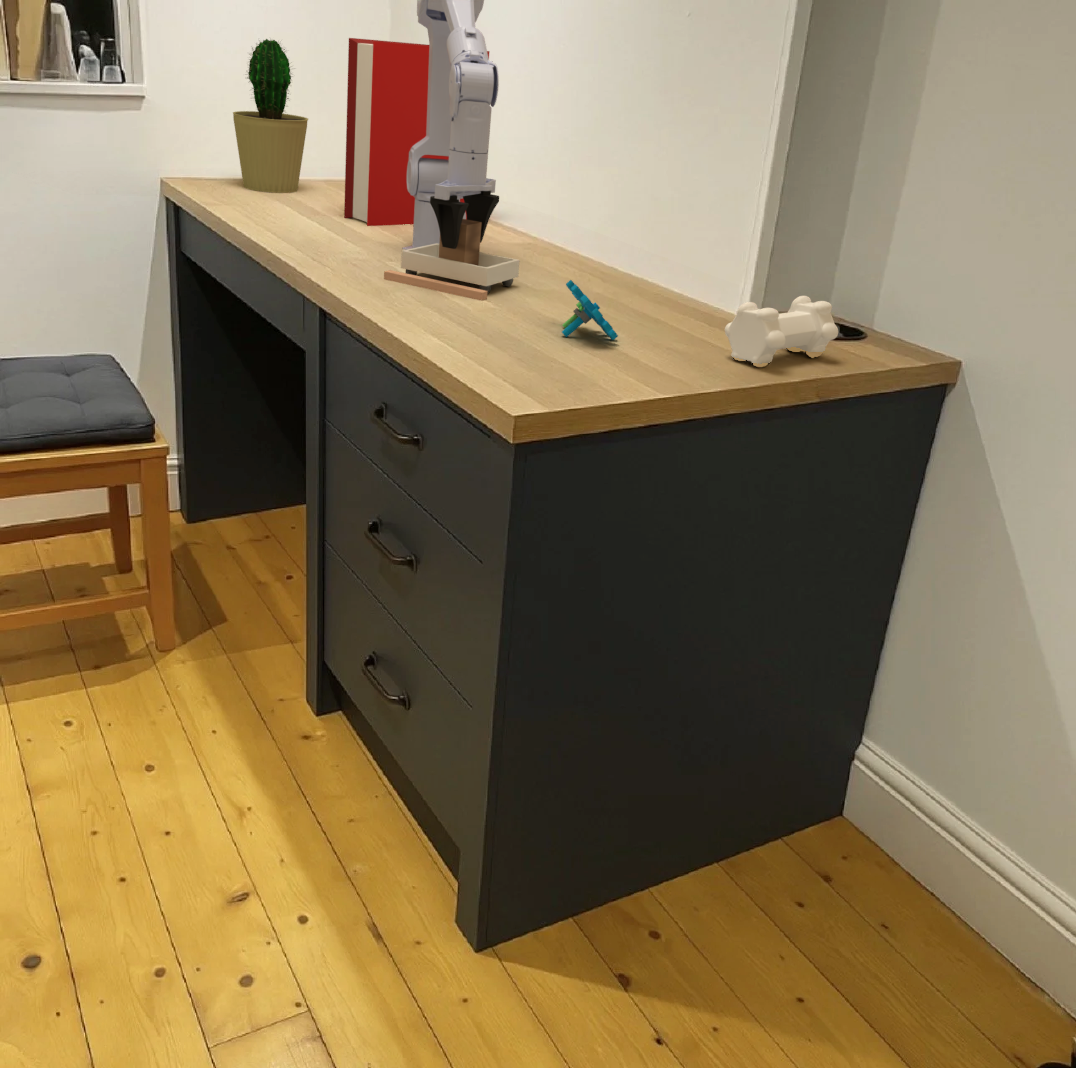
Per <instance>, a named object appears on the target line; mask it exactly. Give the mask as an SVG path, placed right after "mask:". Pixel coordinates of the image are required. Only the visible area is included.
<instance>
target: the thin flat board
mask: <svg viewBox="0 0 1076 1068" xmlns="http://www.w3.org/2000/svg"><path fill="white" fill-rule="evenodd" d="M383 280H387V281H391V282H396V283H400V284H405V285H410V286H413V287H419V288H422V289H427V290H431V291H435V292H436V291H437V292H441V293H446V294H451V295H456V296H459V297H462V298H463V297H464V298H469V299H473V300H477V301H484V300H487V299H488V294H487V292H488V291H485V290H480V289H479V288H475V287H470V286H466V285H460V284H456V283H451V282H447V281H442V280H438V279H433V278H429V277H424V276H420V275H419V276H418V275H411V274H406V272H402V271H397V270H391V269H389V270H385V271H384V272H383Z"/></svg>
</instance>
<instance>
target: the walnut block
mask: <svg viewBox="0 0 1076 1068" xmlns="http://www.w3.org/2000/svg"><path fill="white" fill-rule="evenodd" d="M481 224H482V222H477V221H472V220H467V219H462V223H461V227H460V234H459V240H458V244H457V247H456V249H451V248H446V247H443V246H442V242H441V236H440V242H439V258H444V259H448V260H453V261H458V262H463V263H468V264H473V265H477V266H478V263H479V252H480V248H481V246H480V245H481V243H480V237H481Z"/></svg>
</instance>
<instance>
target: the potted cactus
mask: <svg viewBox="0 0 1076 1068" xmlns="http://www.w3.org/2000/svg"><path fill="white" fill-rule="evenodd" d="M269 38H270V40H269V39H268V38H265V39H263V40H261V39H260V40H259V39H258V42H259V43H258V42H256V43H255V42H254V43H255V47H254V46H251V51H252V52H249V53H248V55H250V56H251V57H250V56H249V57H247V58H248V60H249V61H247V63H249V64H248V71H247V73H246V74H244V75H246V76H247V75H248V77H246V80H247V79H248V80H249V82H250V84H251V85H252V88H251V89H250V91H252V92H251V93H253V94H250V95H251V96H252V95H253V99H254V104H255V105H256V110H257V111H256V110H255V111H253V110H247V111H245V110H239V111H233V112H232V115H233V117H232V118H233V124H234V130H235V131H234V132H235V137H236V144H237V151H238V157H239V164H240V171H241V179H242V184H243V187H244V188H245V189H247V190H251V191H255V192H263V193H272V194H273V193H275V194H288V193H289V194H290V193H295V192H298V190H299V182H300V175H301V168H302V163H303V156H304V149H305V141H306V136H307V129H308V122H309V118H308V117H305V116H301V115H296V114H295V115H294V114H289V113H286V112H285V107H288V104H287V100H288V101H289V102H291V100H292V99H291V98H290V99H289V97H288V95H290V93H291V92H290V90H289V86H290V87H291V83H292V78H294V75H293V72H291V68H292V67H293V65H292V66H290V64H291V63H293V61H292V62H290V60H289V57H287V55H286V53H287V52H288V51H290V50H287V49H286V48H285V46H284V45H283V44H282V43H281V41H282V40H283V39H281V41H276V40H275V39H273V38H271V37H269ZM282 45H283V46H282ZM295 69H296V68H293V70H295ZM291 75H293V76H291ZM249 99H252V97H250V98H249Z"/></svg>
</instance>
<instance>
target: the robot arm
mask: <svg viewBox="0 0 1076 1068" xmlns="http://www.w3.org/2000/svg"><path fill="white" fill-rule="evenodd" d="M484 2H485V0H416V16H417V23H418V24H420V25H421V26H423V27H425V29H426V31H427V36H428V43H429V44H428V45H429V72H428V99H427V127H426V137H424V138H423V139H422V140H420V141H419V142H417V143H416V144H414V145H413V146H412V147H411V149H410V151H409V161H408V165H407V190H408V192H409V193H410V195H413V196H414V197H415V206H414V224H413V225H412V226H413V229H412V231H413V232H412V245H409V246H408V245H407V246H404V247H402V250H407V249H412V248H417V247H421V246H426V245H431V244H435V243H438V244H439V242H440V236H441V242H442V246H443V247H446V248H451V249H456V247H457V244H458V240H459V234H460V227H461V223H462V219H466V214H467V220H472V221H477V222H482V224H481V237H480V244H481V243H482V241H483V239H484V236H485V233H486V230H487V226H488V224H489V221H490V218H491V216H492V214H493V212H494V211H495V208H496V207H497V205H498V204H499V201H500V196H499V195H495V194H493V193H495V192H496V181H497V180H496V179H493V178H487V176H488V175H487V172H488V159H489V148H490V134H491V133H490V132H491V122H492V121H491V120H492V108H494V107H495V105H496V103H497V99H498V95H499V87H500V86H499V85H500V83H499V81H500V80H499V79H500V78H499V69H498V66H497V64H496V63H495V62H493V61H492V60H490V58H489V59H488V54H487V51H488V49H487V43H486V40H485V36H484V34H483V33H482V32H481V31H480V30H479V29H478V28H477V27H476V22H477V20H478V18H479V16H480V14H481V12H482V11H483V7H484ZM423 155H437V156H449V160H446V159H432V158H420V157H422V156H423ZM460 199H464V203H463V202H460ZM465 211H466V212H465Z"/></svg>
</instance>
